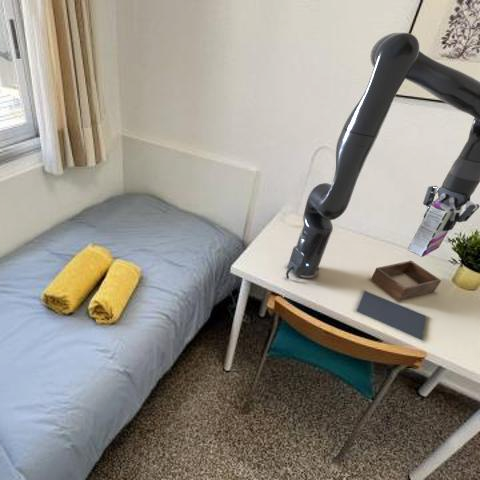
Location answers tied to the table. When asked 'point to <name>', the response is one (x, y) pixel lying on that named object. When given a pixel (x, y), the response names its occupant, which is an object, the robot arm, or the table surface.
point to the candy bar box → (431, 230)
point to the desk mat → (392, 314)
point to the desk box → (412, 270)
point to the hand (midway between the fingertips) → (436, 225)
